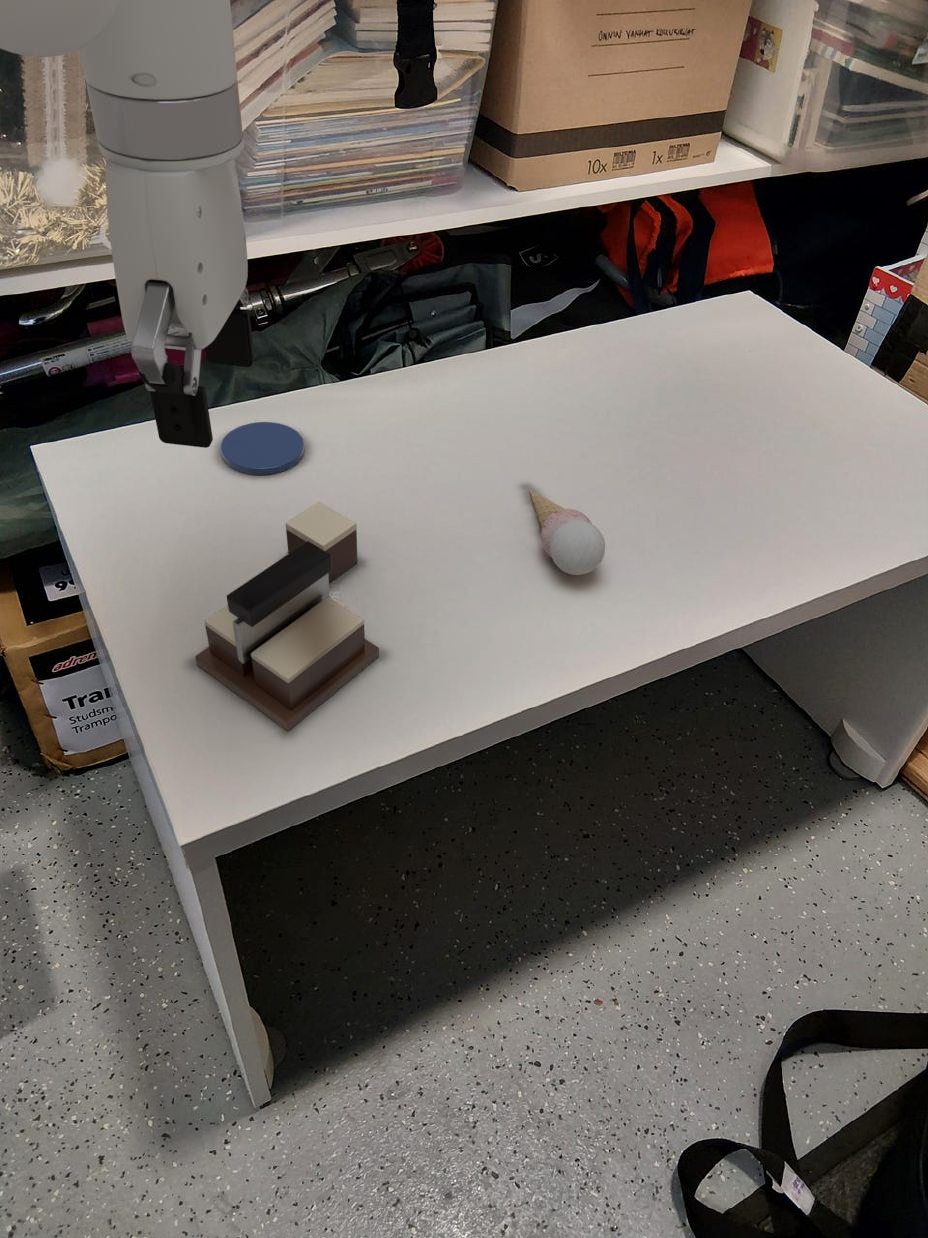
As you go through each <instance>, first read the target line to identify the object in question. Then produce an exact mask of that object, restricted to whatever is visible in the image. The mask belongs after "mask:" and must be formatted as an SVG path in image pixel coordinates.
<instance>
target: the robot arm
mask: <svg viewBox="0 0 928 1238" xmlns="http://www.w3.org/2000/svg"><path fill="white" fill-rule="evenodd" d="M233 28H234V27H233V19H232V8H231V0H0V49H1V50H2V51H3V50H4V51H7V52H9V53H13V54H17V55H19V56H20V55H21V56H27V57H37V58H49V57H59V56H64V55H67V54H70V53H73V52H76V51H79V54H80V55H79V56H80V60H81V65H82V70H83V76H84V79H85V85H86V89H87V96H88V99H89V105H90V110H91V114H92V120H93V124H94V125H93V126H94V130H95V134H96V140H97V144H98V150H99V152H100V154H101V155H102V157H103V158H105V159H106V160H107V161H106V163H105V166H104V168H105V169H104V171H105V198H106V212H107V214H106V215H107V223H108V234H109V241H110V248H111V257H112V264H113V270H114V275H115V276H114V277H115V284H116V289H117V296H118V301H119V308H120V313H121V319H122V324H123V329H124V332H125V335H126V337H127V339H128V340H129V341H130V342H131V348H130V350H131V351H130V354H131V358H132V360H133V361H134V363H135V365H136V367H137V368H138V370H139V371H138V375H139V377H140V378H141V379H140V380H141V381H142V383H144V386H145V389H146V391H148V392H149V394H150V400H151V403H152V409H153V414H154V419H155V424H156V429H157V434H158V439H159V440H160V441H161V442H163V443H164V444H169V445H178V446H185V447H196V448H203V449H204V448H205V449H207V448H209V447H210V446H211V444H212V442H213V441H214V438H213V431H212V423H211V418H210V411H209V404H208V398H207V390H206V386H201V385H199V382H200V371H201V361H202V350H205V351H204V352H205V357H206V360H207V362H209V363H210V364H214V365H223V366H231V367H242V368H251V367H252V366H253V364H254V362H255V352H254V351H255V350H254V343H253V333H252V322H251V314H250V309H246V308H248V306H249V300H250V299H249V298H250V296H249V290H248V288H247V286H246V285H247V281H248V277H249V276H248V271H249V269H248V268H249V264H248V262H249V261H248V248H247V247H248V246H247V238H246V237H247V235H246V227H245V220H244V219H245V218H244V213H243V203H242V198H241V191H240V184H239V179H238V172H237V166H236V162H235V159H237V158H238V157H239V156H241V154H242V153H243V152H244V149H245V141H244V133H243V122H242V112H241V102H240V101H241V100H240V92H239V82H238V81H239V80H238V69H237V58H236V47H235V40H234V39H235V38H234V29H233ZM244 308H245V309H244ZM170 328H179V329H184V331H185V332H186V333H187V334H188V333H189V335H188V336H185V335H174V334H168V332H169V329H170ZM166 349H169V350H179V351H185V353H184V362H183V363H184V364H183V370H182V369H181V367H179V366H178V365H176V364H175V363H173V362H169V361H168V355H167V352H166Z"/></svg>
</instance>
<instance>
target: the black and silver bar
mask: <svg viewBox="0 0 928 1238" xmlns="http://www.w3.org/2000/svg"><path fill="white" fill-rule="evenodd" d="M330 571H332V565H331V555H330V554H329V553H327V552H326V551H324V550H322V549H321V548H319V547H317V546H316V545H314V544H312V543H311V542H309V541H307V542H305V543H304V544H303V545H301V546H300V547H298V548H297V549H295V550H294V551H292V552H291V553H289V554H288V553H287V554H286V555H285V556H283V557H281V558H280V559H279V560H277V561H275V562H274V563H273V564H271V565H270V566H269V567H266V568H265V569H264V570H262V571H261V572H259V573H257V575H255V576H254V577H252V578H250V579H249V580H248V581H246V582H245V583H243V584H241V585H240V586H238V587H237V588H235V589H234V590H232V591H231V592H230V593H228V594H227V595H226V603H227V605H228V609H229V612H230V613H232V614H233V615H235V616H236V617H238V618H237V619H236V620H234V621H233V622H232V623H233V629H234V635H235V642H236V648H237V654H238V660H239V661H240V662H242V663H243V664H244V663H245V662H247V661H248V660H250V659H251V653H252V652H253V651H255V650H256V649H257V648H259V647H260V646H261V645H263V644H264V643H266V642H267V641H268V640H270V639H271V638H272V637H274V636H275V635H276V634H278V633H279V632H280V631H282V630H283V629H285V628H286V627H287V626H289V625H290V624H291V623H293V622H294V621H295V620H297V619H298V618H300V617H301V616H302V615H304V614H305V613H306V612H308V611H309V610H310V609H312V608H313V607H315V606H316V605H317V604H319V603H320V602H321V601H323V600H324V599H325V598H327V597H330V598H331V595H330V583H329V575H328V573H329V572H330Z"/></svg>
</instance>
